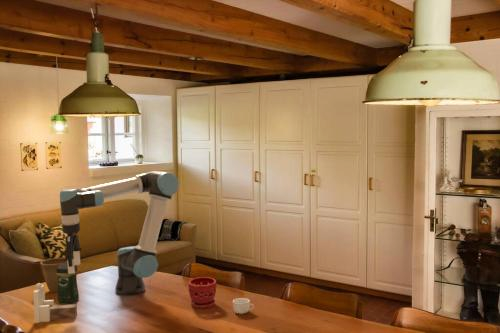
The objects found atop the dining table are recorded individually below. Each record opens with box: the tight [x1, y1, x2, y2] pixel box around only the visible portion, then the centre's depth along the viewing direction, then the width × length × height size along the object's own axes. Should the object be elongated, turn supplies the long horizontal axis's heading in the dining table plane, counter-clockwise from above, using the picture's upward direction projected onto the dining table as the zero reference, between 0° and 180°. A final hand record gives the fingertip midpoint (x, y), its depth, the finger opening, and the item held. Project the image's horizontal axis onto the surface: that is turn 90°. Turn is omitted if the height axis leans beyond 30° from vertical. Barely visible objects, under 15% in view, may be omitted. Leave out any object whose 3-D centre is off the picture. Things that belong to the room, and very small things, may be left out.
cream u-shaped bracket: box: [32, 282, 55, 324], centre depth 227 cm, size 6×10×16 cm, turn 7°
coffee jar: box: [56, 264, 80, 304], centre depth 251 cm, size 10×8×19 cm
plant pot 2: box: [188, 276, 217, 309], centre depth 240 cm, size 13×13×12 cm
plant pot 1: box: [40, 257, 67, 294], centre depth 268 cm, size 15×15×16 cm
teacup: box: [232, 297, 255, 315], centre depth 230 cm, size 10×8×5 cm
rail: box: [50, 304, 78, 321], centre depth 228 cm, size 14×4×5 cm, turn 97°
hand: (74, 269), depth 232 cm, fingers open, 13 cm apart
